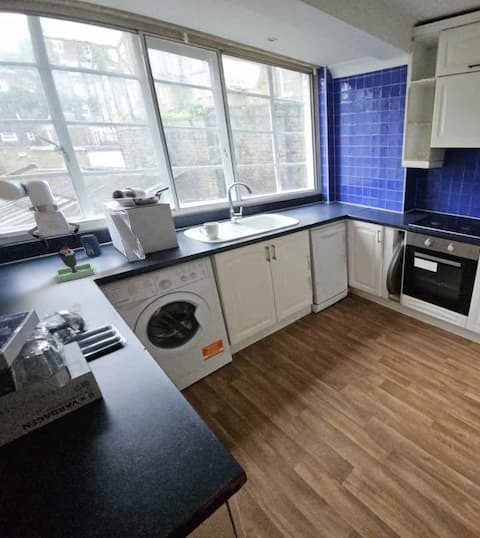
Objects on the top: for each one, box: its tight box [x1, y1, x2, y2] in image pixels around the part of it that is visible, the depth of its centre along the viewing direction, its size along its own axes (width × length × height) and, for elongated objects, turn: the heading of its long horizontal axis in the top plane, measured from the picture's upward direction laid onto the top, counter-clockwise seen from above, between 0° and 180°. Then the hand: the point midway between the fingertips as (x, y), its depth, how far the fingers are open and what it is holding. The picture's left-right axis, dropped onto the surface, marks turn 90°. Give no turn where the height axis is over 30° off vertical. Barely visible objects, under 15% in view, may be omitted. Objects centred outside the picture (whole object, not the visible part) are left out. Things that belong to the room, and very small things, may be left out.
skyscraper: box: [109, 208, 146, 263], centre depth 156 cm, size 8×8×28 cm
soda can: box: [80, 233, 103, 258], centre depth 167 cm, size 7×7×12 cm
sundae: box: [57, 243, 81, 274], centre depth 141 cm, size 7×7×15 cm
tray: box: [55, 262, 95, 283], centre depth 143 cm, size 13×12×3 cm
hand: (61, 245), depth 138 cm, fingers open, 9 cm apart
